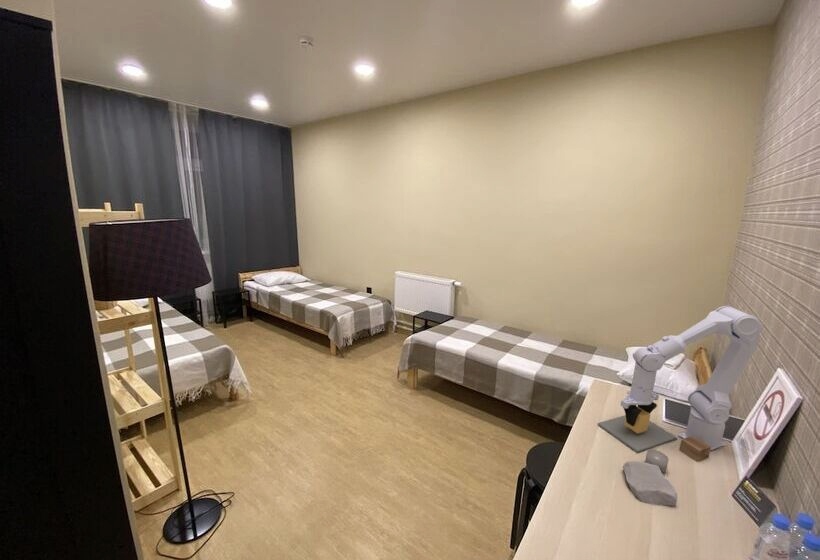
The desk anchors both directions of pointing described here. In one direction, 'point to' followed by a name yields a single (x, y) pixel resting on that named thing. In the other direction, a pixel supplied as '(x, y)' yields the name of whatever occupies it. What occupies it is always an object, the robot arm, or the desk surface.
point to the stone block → (649, 483)
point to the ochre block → (640, 422)
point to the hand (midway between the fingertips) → (635, 422)
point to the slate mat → (637, 434)
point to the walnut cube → (695, 448)
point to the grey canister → (657, 459)
